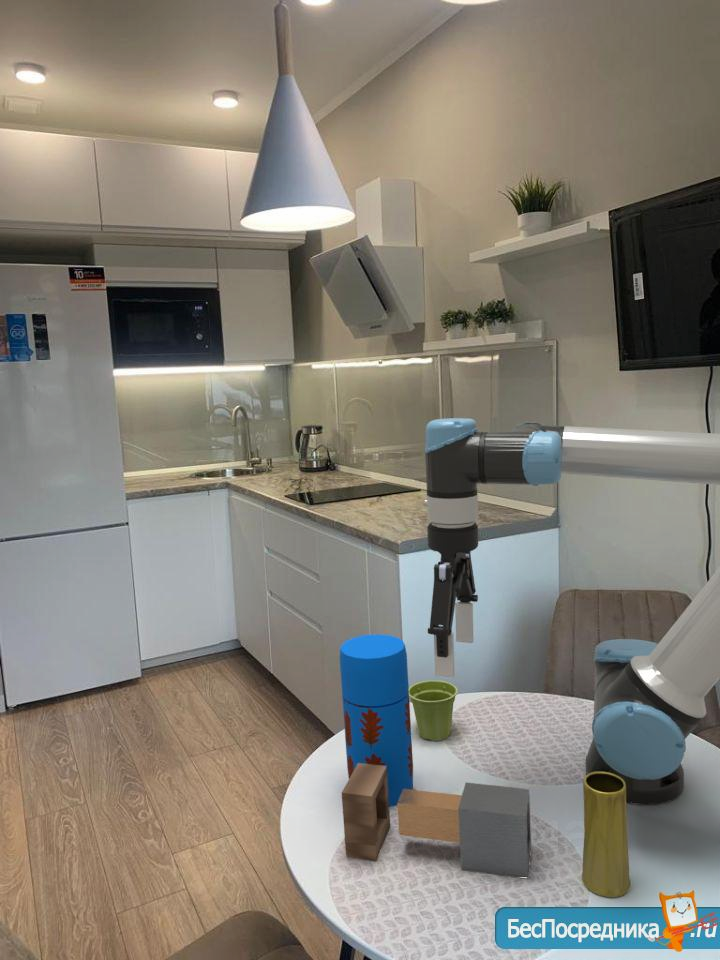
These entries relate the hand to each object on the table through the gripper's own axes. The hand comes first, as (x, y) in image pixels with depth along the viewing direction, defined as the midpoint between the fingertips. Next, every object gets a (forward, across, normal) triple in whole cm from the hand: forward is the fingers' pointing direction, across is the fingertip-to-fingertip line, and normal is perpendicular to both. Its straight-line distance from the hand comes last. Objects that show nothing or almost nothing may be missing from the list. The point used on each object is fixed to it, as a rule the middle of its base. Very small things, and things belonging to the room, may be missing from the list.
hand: (455, 657), depth 111 cm
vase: (+24, +12, +23) cm, 35 cm away
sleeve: (+24, +11, +8) cm, 28 cm away
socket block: (+25, +12, -11) cm, 30 cm away
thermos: (+25, -1, -13) cm, 28 cm away
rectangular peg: (+21, +12, +3) cm, 25 cm away
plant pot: (+25, -21, -9) cm, 34 cm away
